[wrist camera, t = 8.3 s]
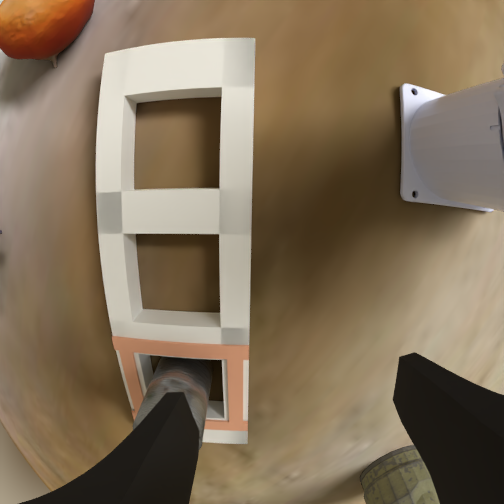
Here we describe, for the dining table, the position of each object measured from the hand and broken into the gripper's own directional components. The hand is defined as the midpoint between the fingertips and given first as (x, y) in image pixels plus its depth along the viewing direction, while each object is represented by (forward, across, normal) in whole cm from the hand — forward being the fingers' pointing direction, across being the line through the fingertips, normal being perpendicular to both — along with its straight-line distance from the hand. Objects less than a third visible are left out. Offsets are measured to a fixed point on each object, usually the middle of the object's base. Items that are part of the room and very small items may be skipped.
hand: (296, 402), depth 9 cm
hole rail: (+10, +6, -2) cm, 12 cm away
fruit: (+11, +12, -22) cm, 28 cm away
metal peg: (+10, +7, +5) cm, 14 cm away
